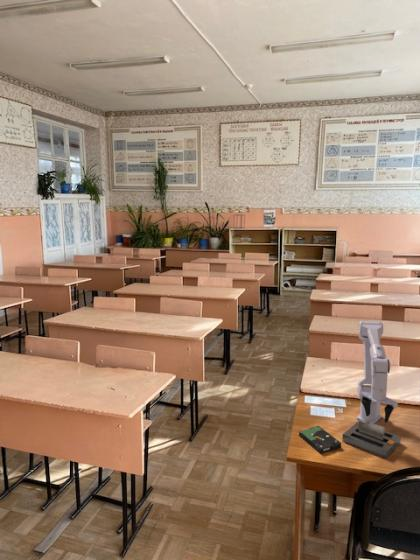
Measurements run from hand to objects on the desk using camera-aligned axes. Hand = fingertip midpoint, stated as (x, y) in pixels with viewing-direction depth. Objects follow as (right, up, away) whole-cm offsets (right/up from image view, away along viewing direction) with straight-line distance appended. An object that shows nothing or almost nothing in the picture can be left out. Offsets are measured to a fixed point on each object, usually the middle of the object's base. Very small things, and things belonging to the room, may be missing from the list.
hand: (377, 418), depth 173 cm
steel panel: (-3, -9, 0) cm, 9 cm away
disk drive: (-23, -10, +1) cm, 26 cm away
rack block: (-3, -10, 0) cm, 10 cm away
